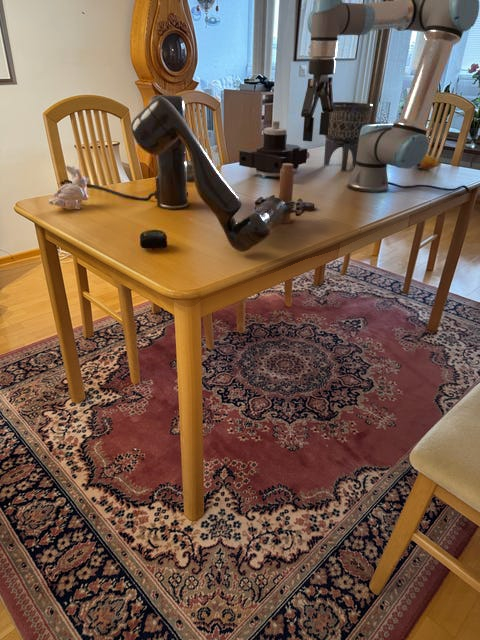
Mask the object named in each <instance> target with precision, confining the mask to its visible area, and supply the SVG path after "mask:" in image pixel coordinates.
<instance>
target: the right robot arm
mask: <svg viewBox="0 0 480 640" xmlns="http://www.w3.org/2000/svg"><path fill="white" fill-rule="evenodd" d="M312 5H313V6H312V10H311V11H310V12H309V14H308V16H307V21H306V22H307V23H306V24H307V30H308V32H309V33H310V44H309V45H308V49H309V57H310V58H311V59H309V61H308V70H307V72H308V74H309V75H313V77H312V78H308V80H307V85H306V86H307V87H306V91H305V95H304V98H303V99H304V100H303V104H302V108H301V112H300V117H301V118H303V133H302V141H303V142H313V137H314V136H313V134H314V123H315V117H314V113H315V111H316V108H317V106H318V102H319V101H320V106H321V111H322V112H320V121H319V132H318V135H320V136H325V135H328V129H329V119H330V113H329V112H332V113H333V102H334V95H333V76H330V75H334V74H335V72H336V71H335V70H336V60H335V58H336V57H337V54H338V53H337V52H338V43H339V42H338V40H339V36H357V37H359V36H366V35H368V34H370V32H372V31H379V30H380V31H381V30H389V29H394V30H396V31H398V32H403V31H409V32H422V33H423V36H424V38H425V44H424V46H423V49H422V52H421V55H420V58H419V61H418V64H417V67H416V69H415V72H414V76H413V79H412V82H411V84H410V87H409V90H408V94H407V96H406V99H405V102H404V105H403V108H402V111H401V114H400V116H399V118H398V119H397V120H395V121H394V122H393V123H383V124H382V123H381V124H380V123H379V124H369V125H365V126H363V127H362V128H361V131H360V136H359V142H358V150H357V158H356V165H355V166H354V167H353V171H351V174H350V176H349V179H348V180H347V181H348V182H347V187H348V188H349V189H351V190H354V191H358V192H363V193H364V192H365V193H382V192H386V191H388V189H389V185H390V186H393V187H396V188H400V189H410V188H419V187H420V188H429V189H436V190H440V191H447V192H448V191H449V192H453V191H454V192H455V191H458V190H460V189H462V188H463V189H465V191H468V190H469V187H468V186H466V185H464V184H463V185H460V186H457V187H454V188H448V187H440V186H436V185H429V184H412V185H401V184H397V183H394V182H390V181H389V178H388V173H387V172H388V171H387V166H389V165H390V166H393V167H396V168H399V169H407V170H409V169H412V168H415V167H417V166H416V165H418V164H419V163H420V162H421V161H422V160H423V159H424V157H425V155H427V154H428V150H429V146H430V145H429V139H428V137H427V136H426V134H427V132H428V130H427V127H426V122H427V119H428V116H429V114H430V110H431V108H432V105H433V103H434V100H435V97H436V94H437V91H438V88H439V86H440V84H441V81H442V78H443V76H444V72H445V70H446V67H447V64H448V61H449V58H450V56H451V52H452V50H453V47H454V46H455V45H456V44H458V43H460V42H461V40H462V37H463V34H464V33H465V32H467V31H469V30H470V29H472V27H474V25H475V24H476V21H477V20H478V16H479V12H480V0H386V1H376V2H375V1H373V2H361V3H356V2H343V0H313V3H312Z"/></svg>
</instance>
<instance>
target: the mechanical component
mask: <svg viewBox="0 0 480 640" xmlns="http://www.w3.org/2000/svg"><path fill="white" fill-rule="evenodd" d="M287 138H288V129H287V128H286V127H280V121H279V120H272V126H271V127H265V128H264V129H263V145H262V146H258V147H257V148H256V151H250V150H245V149H241V150H239V153H238V154H239V155H238V157H239V159H238V166H240V167H245V168H250V169H255V173H256V174H257V175H261V177H262V178H267V177H280V170H281V168H282V164H284V163H290V164H293V169H294V174H295V173H298V171H299V167H300V165H303V164H304V165H305V164H307V160H309V158H310V156H311V154H310V152H309V151H308V148H304V147H301V146H299V145H297V144H290V143H287Z"/></svg>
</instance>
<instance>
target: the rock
mask: <svg viewBox="0 0 480 640" xmlns="http://www.w3.org/2000/svg"><path fill="white" fill-rule="evenodd" d="M186 172H187V182H195V181H194V175H193V169H192V164H191V160H188V161H186Z"/></svg>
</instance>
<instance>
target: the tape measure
mask: <svg viewBox="0 0 480 640" xmlns="http://www.w3.org/2000/svg"><path fill="white" fill-rule="evenodd" d="M167 236H168V235H167V234H166V232H165V231H164V230H161V229H147V230H144V231H143V232H141V233H140V235H139V240H140V241H139V245H140V246H139V247H141V248H142V249H146V250H157V249H167V248H168V240H167V239H168V237H167Z"/></svg>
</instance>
